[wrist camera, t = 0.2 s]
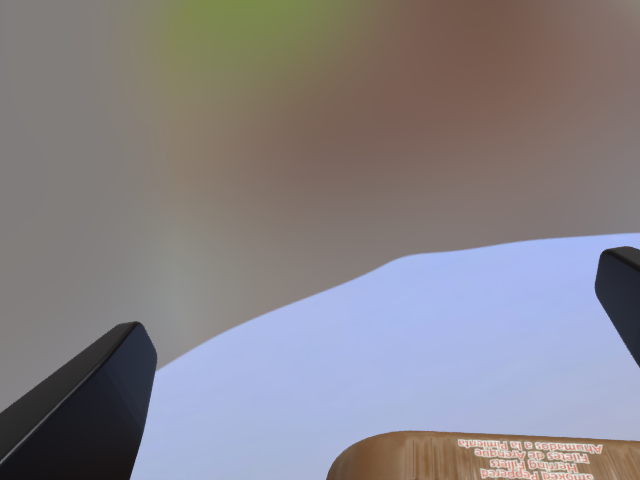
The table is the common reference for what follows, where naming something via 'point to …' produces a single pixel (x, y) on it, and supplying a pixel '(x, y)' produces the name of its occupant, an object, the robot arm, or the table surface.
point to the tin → (485, 458)
